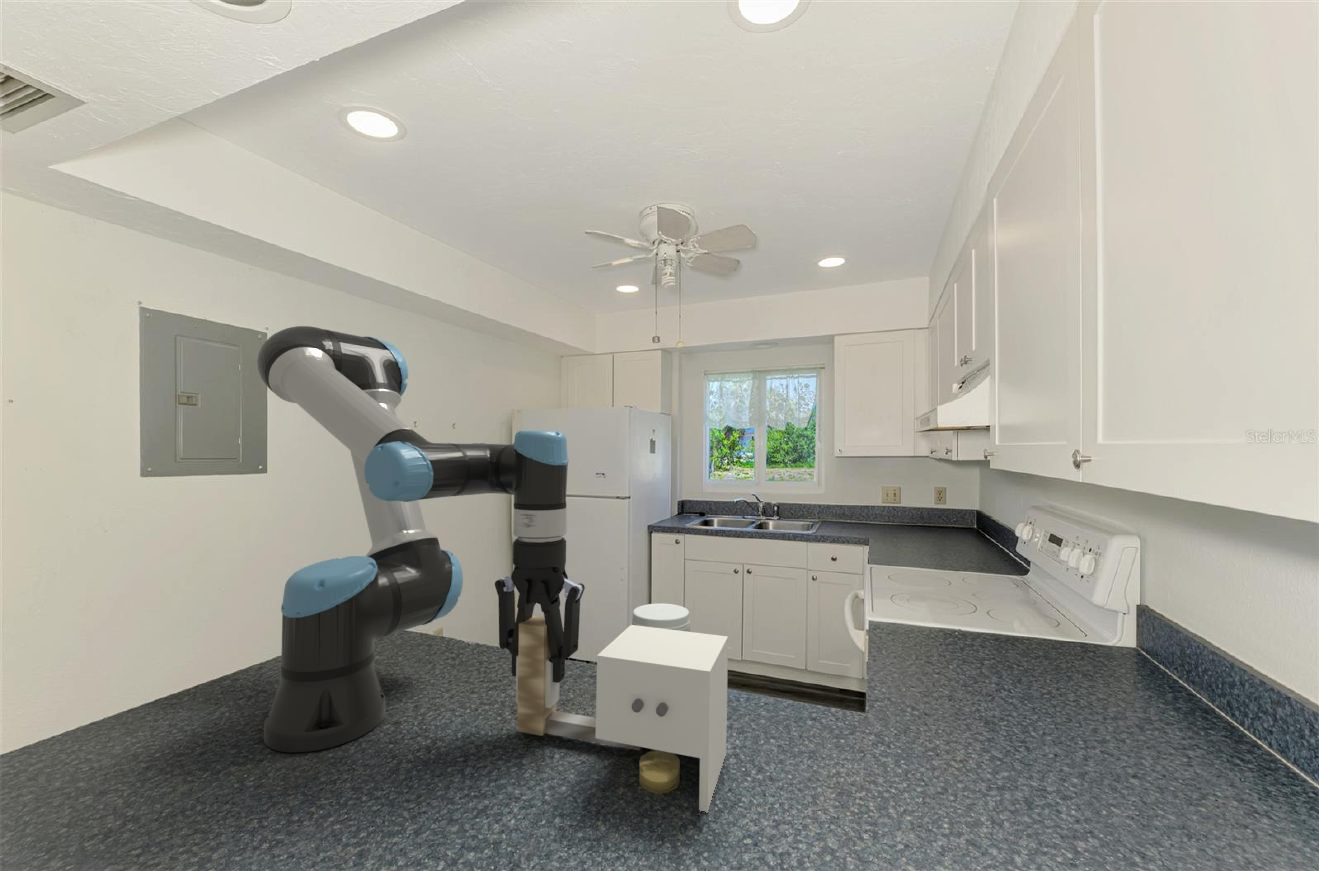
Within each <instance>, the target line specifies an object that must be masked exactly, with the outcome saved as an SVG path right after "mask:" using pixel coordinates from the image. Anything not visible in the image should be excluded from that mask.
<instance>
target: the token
mask: <svg viewBox="0 0 1319 871" xmlns="http://www.w3.org/2000/svg"><path fill="white" fill-rule="evenodd" d="M680 763H681V762H680V758H679V757H678V756H677V754H676V753H670V752H665V751H660V750H655V749H654V750H650V751H647V752H645V753H644V754H642V755H641V757H640V758H639V765H638V766H639V769H638V770H639V773H638V775H639V776H638V780H639V781H638V782H639V785H640V786H641V788H642V789H644V790H645V791H646V792H649V793H651V794H652V793H653V794H659V793H661V794H666V792H668V793H670V791H671V792H673V791H675V788H676V787H677V786H679V785H678V784H680V768H681V767H680V766H681V765H680ZM677 788H678V787H677ZM677 788H676V789H677ZM672 790H673V791H672Z"/></svg>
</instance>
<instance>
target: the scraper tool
mask: <svg viewBox="0 0 1319 871" xmlns="http://www.w3.org/2000/svg"><path fill="white" fill-rule="evenodd" d="M550 657H551V654H550V648H549V641H548V635H547V625H546V623H545V617H544V616H540V615H532V618H530V619H528V620H526V621H525V622H521V623H520V624H519V652H518V703H517V721H516V722H517V723H516V724H517V725H516V726H517V727H516V731H517V732H520V733H525V734H530V735H535V736H541V737H542V736H544V735H545V734H549V735H553V736H554V735H555V736H560V737H564V738H570V739H577V740H581V741H585V742H586V741H587V742H593V743H596V744H602V745H608V746H613V747H619V748H623V749H628V750H629V749H630V750H635V751H641V749H642V748H643V747H639V746H634V745H628V744H623V743H618V742H613V741H607V740H602V739H597V738H596V717H593V716H587V715H582V714H575V713H569V712H563V711H557V706H558V705H557V702H558V701H557V702H556V703H555V704H554V705H553V706H552V707H551V708H545V689H546V660H547V659H549V658H550Z"/></svg>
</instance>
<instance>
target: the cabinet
mask: <svg viewBox="0 0 1319 871" xmlns="http://www.w3.org/2000/svg"><path fill="white" fill-rule="evenodd" d="M728 645H729V636H726V635H718V634H709V633H702V632H693V631H690V632H686V631H678V630H670V629H662V628H653V627H645V626H637V625H632V624H630V625H629V626H628V627H627V628H626V629H625V630H624V631H623V632H621V633H620V634H619V635H618V636H617V637H616V638H615V639H614V640H612V641H611V642H610V643H609V644H608V645H607V646H606V647H605V648H603V649H602V650H601V651H600V652H599V653H598V654H597V655H596V695H595V696H596V698H595V700H596V701H595V718H596V738H597V739H602V740H607V741H613V742H618V743H623V744H628V745H634V746H639V747H642V748H645V749H650V750H654V751H655V750H660V751H665V752H670V753H673V754H675V755H682V756H686V757H692V758H697V759H699V786H698V787H699V792H698V794H699V798H698V801H699V802H698V803H699V804H698V811H699V810H700V811H699V812H701V811H705V812H706V813H705V812H704V813H705V814H708V813H709V811H708V810H710V807H711V804H712V801H713V798H712V796H713V797H714V795H713V793H714V794H715V792H714V790H715V791H716V789H715V787H716V788H717V786H716V784H717V785H718V783H717V781H718V782H719V780H718V777H719V775H720V776H721V774H720V771H721V772H722V770H721V768H722V769H723V767H722V766H724V764H723V762H724V763H725V761H724V759H725V760H726V758H725V756H726V757H727V731H728V730H727V728H728V727H727V724H728V723H727V720H728V718H727V717H728V716H727V715H728V668H729V666H728V664H729V663H728V659H729V658H728V656H729V654H728V653H729V646H728ZM719 778H720V777H719ZM711 800H712V801H711ZM710 803H711V804H710ZM709 806H710V807H709Z"/></svg>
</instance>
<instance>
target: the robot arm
mask: <svg viewBox="0 0 1319 871" xmlns="http://www.w3.org/2000/svg"><path fill="white" fill-rule="evenodd" d="M256 361H257V362H256V363H257V369H258V370H257V371H258V374H259V376H260V379H261V380H262V381H263V383H264V385H266V387H267V388H268V389H269V390H270V391H271V392H272V393H274V395H275V396H277V397H278V398H279V399H281V400H283V401H285V402H288V403H292V404H297V405H298V406H299V407H300V408H301V409H303V410H304V411H305V412H306V413H307V414H308V415H309V416H310V417H312V418H313V419H314V420H315V421H316V422H317V423H318V424H320V425H321V427H323V428H324V429H325V430H326V431H328V433H329V434H331V435H332V436H333V437H334V438H335V439H337V441H339V442H340V443H341V444H342V445H344V447H346V448H347V449H348V450H349V451H350V455H351V460H352V463H353V468H354V473H355V477H356V481H357V485H358V489H359V493H360V498H361V502H362V505H363V511H364V514H365V519H366V522H367V524H366V525H367V528H368V532H369V535H370V540H371V544H372V545H371V548H370V549H369V551H368V552H367V553H366V555H365V556H363V555H357V556H356V555H355V556H354V555H353V556H345V557H342V558H336V557H335V558H330V559H327V560H323V561H320V562H319V561H318V562H315V563H313V564H310V565H307V566H305V567H302V568H300V569H298V570H297V571H295V572H294V573H292V575H290V576H289V578H288V579H287V580H286V582H285V584H284V591H283V597H282V604H281V606H280V609H281V610H280V611H281V613H282V617H281V618H282V619H281V620H282V621H281V656H280V657H281V661H280V664H281V666H280V667H281V668H280V681H279V684H278V686H277V689H276V693H275V696H274V699H273V700H272V704H271V707H270V711H269V712H268V714H267V715H266V718H265V719H264V724H263V743H264V744H265V745H266V746H267V747H268V748H269V749H272V750H274V751H278V752H284V753H308V752H315V751H321V750H325V749H326V750H327V749H330V748H334V747H338V746H340V745H344V744H347V743H349V742H351V741H354V740H356V739H359V738H361V737H363V736H364V735H367V734H368V733H369V732H371V731H372V730H374V729H375V728H376V727H378V726H379V725H380V724H381V723H382V721H383V719H385V715H386V696H385V693H384V692H383V690H382V686H381V682H380V678H379V676H378V673H377V669H376V667H375V662H374V661H375V660H374V659H375V657H374V656H375V641H376V640H378V639H381V638H385V637H388V636H390V635H395V634H398V633H400V632H403V631H407V630H410V629H412V628H416V627H418V626H425V625H428V624H430V623H433V622H434V621H435V620H439V619H441V618H444V617H445V616H446V615H449V613H451V612H452V611H453V609H455V607H456V606H457V605H458V601H459V598H460V597H461V595H462V592H463V583H464V582H463V581H464V576H463V575H464V574H463V570H462V565H461V563H460V560H459V558H458V557H457V555H454V554H453V552H452V551H449V550H448V549H443V548H442V549H441V545H440V541H439V537H438V536H437V535H435V534H433V533H431V532H429V531H428V530H427V529H426V524H425V522H424V518H423V513H422V509H421V505H420V502H419V501H421V500H430V499H438V498H446V497H449V498H450V497H461V496H462V497H463V496H474V495H484V494H500V495H513V535H514V536H515V537H516V539H514V541H512V564H513V566H514V567H513V570H512V572H511V575H510V576H505V577H503V578H500V579H498V580H495V582H494V587H495V590H496V593H497V597H498V647H500V649H502V650H508V651H509V652H510V654H511V675H512V677H515V703H516V704H518V652H519V624H520V623H521V622H525V621H526V620H528V619H530V618H532V616H534V615H533V614H534V608H535V605H536V604H538V605H540V610H541V613H543V617H545V623H546V625H547V635H548V641H549V648H550V654H551V657H550V658H549V659H547V660H546V689H545V708H551V707H552V706H553V705H554V704H555V703H556V702H559V701H560V682H562V681H563V680H564V678H565V677H566V676H565V674H566V669H565V668H566V663H565V662H566V659H567V658H570V657H571V656H572V655H573V654H575V653H576V652H577V651H578V650H579V638H580V637H579V636H580V634H579V633H580V615H581V614H580V612H581V599H582V597H583V594H584V591H585V588H586V587H585V584H584V583H582V582H581V583H575V582H573V581H571V579H569V577H568V574H567V571H566V562H567V540H566V539H565V537H564V536H565V535H566V534H567V531H568V530H567V527H568V525H567V522H568V521H567V487H568V486H567V484H568V483H567V482H568V466H569V465H568V464H569V459H568V445H567V444H568V442H567V437H566V434H564V433H563V432H562V431H559V430H558V431H555V430H519V431H517V432H516V433H515V435H514V442H513V443H512V444H503V443H502V444H501V443H484V442H481V443H477V442H476V443H475V442H474V443H450V442H449V443H444V442H440V443H437V442H432V441H429V440H427V439H425V438H424V437H423V436H422V435H420V433H417V432H416V431H415V430H414V429H412V428H411V427H410V426H409V425H408V424H406V423H405V422H404V421H402V420H401V419H399V418H398V417H397V413H396V411H395V410H396V408H397V407H398V406H399V405H400V404H401V402H402V396H403V395H404V393H405V391H406V389H407V387H408V383H407V379H409V369H408V364H407V361H406V360H405V357H404V355H403V354H402V353H401V351H400V349H398V348H397V347H396V346H395V345H393V344H391V343H389V342H387V341H384V340H379V339H378V338H377V337H375V338H374V337H372V336H359V335H354V334H349V333H345V332H340V331H334V330H330V329H325V328H324V329H323V328H321V327H315V326H310V325H308V326H307V325H306V326H304V325H300V326H299V325H297V326H296V325H295V326H291V327H287V328H284V329H282V330H280V331H278V332H275V333H274V334H271V336H270V337H268V338H267V340H266V341H265V342H263V344H262V345H261V348H260V349H259V351H258V356H257V360H256ZM515 588H516V590H517V592H518V594H519V595H518V599H517V605H516V593H515ZM563 590H564V594H563V595H564V598H565V603H564V615H563V617H564V618H563V620H562V614H561V609H560V607H561V599H560V594H561V592H562V591H563ZM516 607H517V612H516Z"/></svg>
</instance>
